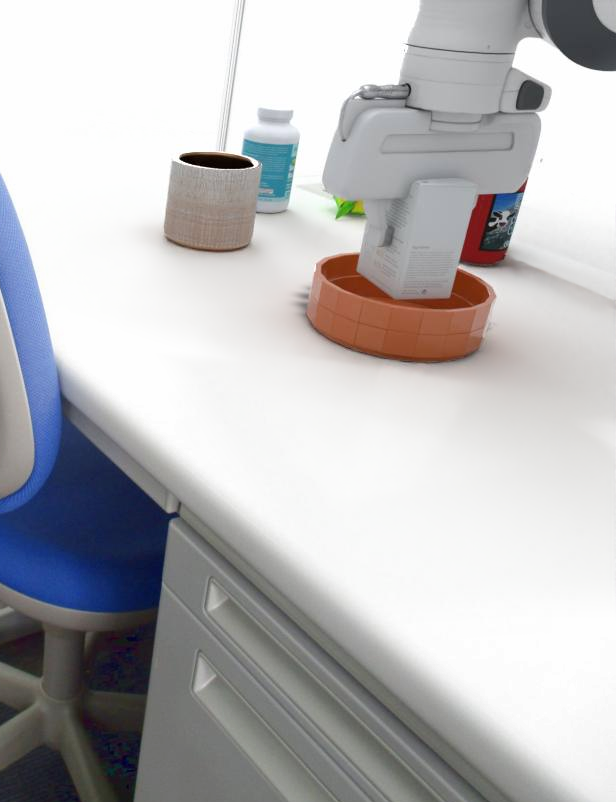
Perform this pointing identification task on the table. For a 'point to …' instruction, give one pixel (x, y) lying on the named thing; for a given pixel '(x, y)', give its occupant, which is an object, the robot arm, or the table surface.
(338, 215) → the apple
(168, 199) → the planter
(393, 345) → the pan
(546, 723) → the table surface
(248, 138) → the pill bottle
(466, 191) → the small box
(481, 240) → the beverage can
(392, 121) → the robot arm
